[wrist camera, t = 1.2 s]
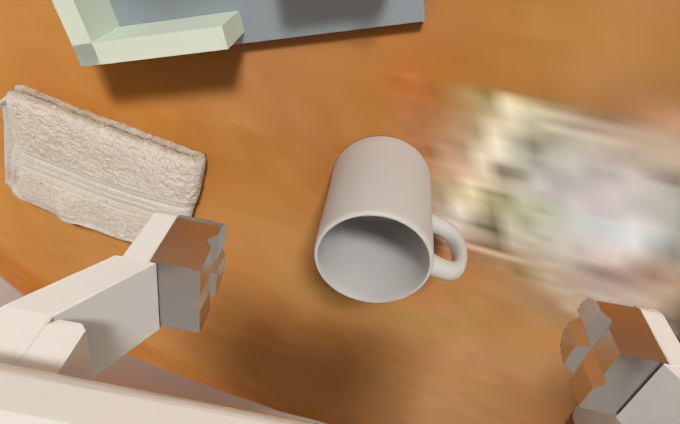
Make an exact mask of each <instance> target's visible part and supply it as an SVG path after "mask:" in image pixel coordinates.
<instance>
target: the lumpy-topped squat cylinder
mask: <svg viewBox="0 0 680 424" xmlns="http://www.w3.org/2000/svg"><path fill="white" fill-rule="evenodd" d="M616 416H617V415H613V414H608V413H604V412H599V411H595V410H590V409H586V408H581V407H578V405H577V406H576V408H575V409H574V411H573V414H572V417H573V421H574V424H621V423H620V422H619V420H618V419H617V418H616Z"/></svg>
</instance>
